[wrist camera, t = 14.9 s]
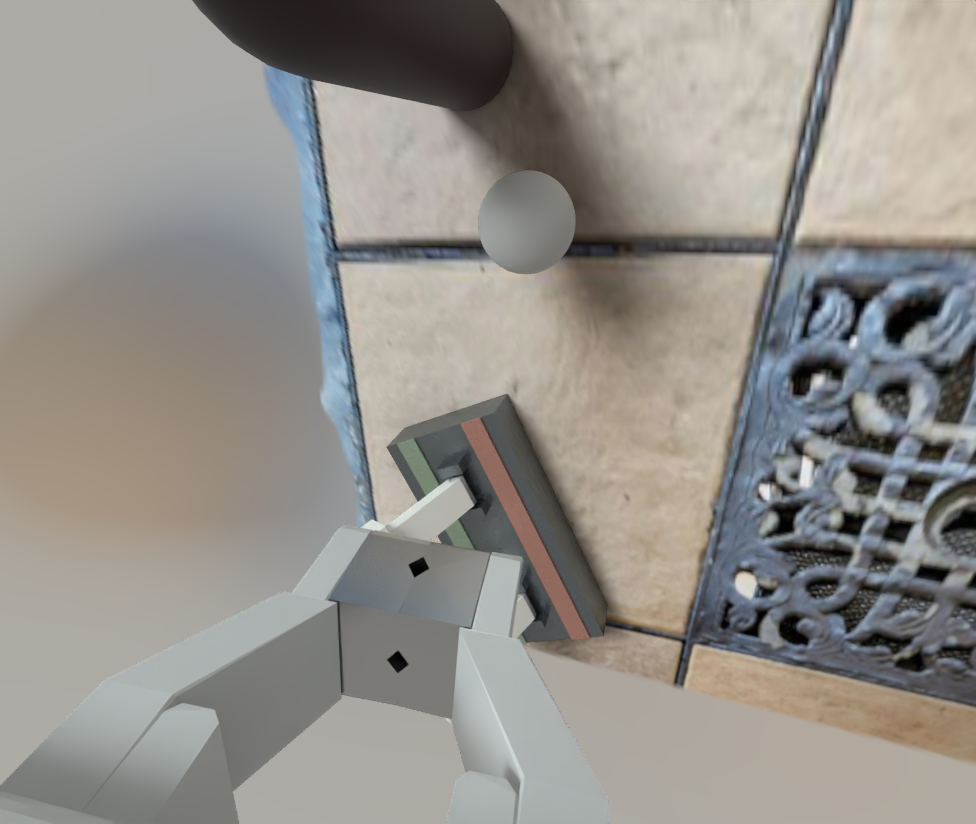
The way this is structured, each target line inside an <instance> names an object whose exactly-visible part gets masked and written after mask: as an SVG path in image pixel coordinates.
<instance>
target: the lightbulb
mask: <svg viewBox="0 0 976 824" xmlns="http://www.w3.org/2000/svg"><path fill="white" fill-rule="evenodd" d="M575 223H576V219H575V210H574V207H573V203H572V200H571V198H570V196H569V194H568V192H567V191H566V190H565V188H564V187H563V186H562V185H561V184H560V183H559V182H558V181H557V180H555V179H554V178H553V177H551V176H549V175H547V174H545V173H542V172H538V171H530V170H524V171H518V172H513V173H511V174H509V175H507V176H504V177H503V178H502V179H500V180H499V181H497V182H496V183H495V184H494V186H493V187H492V188H491V189H490V190H489V191H488V193H487V194H486V196H485V198H484V199H483V202H482V205H481V207H480V211H479V217H478V230H479V236H480V239H481V242H482V245H483V247H484V249H485V251H486V252H487V254H488V255H489V256H490V258H491V259H492V260H493V261H494V262H495V263H496V264H498V265H499V266H500V267H502V268H504V269H506V270H508V271H510V272H514V273H518V274H532V273H538V272H541V271H544V270H546V269H548V268H550V267H551V266H553V265H554V264H555V263H556V262H558V261H559V260H560V259H561V258H562V257H563V255H564V254H565V253H566V251H567V250H568V248H569V246H570V244H571V242H572V239H573V236H574V232H575Z"/></svg>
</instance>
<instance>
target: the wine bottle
mask: <svg viewBox="0 0 976 824" xmlns="http://www.w3.org/2000/svg"><path fill="white" fill-rule="evenodd" d="M193 2H194V3H195V4H196V6H197V7H198V8H199V9H200V11H201V12H202V13H203V14H204V15H205V16H206V17H207V18H208V19H209V20H210V21H211V22H212V23H213V24H214V25H215V26H216V27H217V28H218V29H219V30H220V31H221V32H222V33H223V34H224V35H225V36H226V37H227V38H228V39H230V40H231V41H232V42H233V43H234V44H236V45H237V46H239V47H240V48H242V49H243V50H245V51H246V52H248V53H249V54H251V55H253V56H254V57H256V58H258V59H259V60H261V61H262V62H264V63H266V64H267V65H269V66H272V67H274V68H277V69H280V70H282V71H285V72H288V73H292V74H295V75H298V76H301V77H304V78H307V79H312V80H316V81H321V82H326V83H331V84H335V85H340V86H345V87H350V88H354V89H359V90H364V91H369V92H373V93H378V94H383V95H387V96H392V97H397V98H402V99H406V100H411V101H416V102H421V103H425V104H430V105H435V106H440V107H444V108H449V109H454V110H461V111H465V110H473V109H475V108H478V107H481V106H482V105H484V104H485V103H487V102H489V101H490V100H491V99H492V98H493V97H494V96H495V95H496V94H497V93H498V92H499V90H500V89H501V88H502V86H503V85H504V83H505V80H506V78H507V76H508V74H509V70H510V66H511V62H512V53H513V49H512V36H511V32H510V27H509V24H508V21H507V19H506V16H505V14H504V12H503V11H502V9H501V7H500V6H499V4H498V3H497V2H496V1H495V0H193Z"/></svg>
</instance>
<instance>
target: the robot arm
mask: <svg viewBox="0 0 976 824" xmlns="http://www.w3.org/2000/svg"><path fill="white" fill-rule="evenodd" d="M522 565H523V559H522V557H521V556H515V555H509V554H502V553H496V552H492V553H491V552H486V551H480V550H474V549H469V548H463V547H457V546H452V545H446V544H440V543H435V542H430V541H426V540H421V539H416V538H411V537H406V536H401V535H397V534H392V533H387V532H382V531H377V530H374V531H373V530H370V529H365V528H360V527H355V526H350V525H344V526H342V527H340V528H339V529H338V530H337V531H336V533H335V534H334V535H333V537H332V538H331V539H330V541H329V542H328V544H327V545H326V546H325V548H324V549H323V551H322V552H321V553H320V555H319V556H318V558H317V559H316V560H315V561H314V563H313V564H312V566H311V567H310V568H309V570H308V571H307V572H306V574H305V575H304V577H303V578H302V579H301V581H300V582H299V583H298V585H297V586H296V588H295V589H294V591H293V592H292V593H288V592H280V593H278V594H276V595H274V596H272V597H270V598H268V599H266V600H264V601H262V602H260V603H258V604H256V605H254V606H252V607H250V608H248V609H246V610H244V611H242V612H240V613H238V614H236V615H234V616H232V617H230V618H228V619H226V620H224V621H222V622H220V623H218V624H216V625H214V626H212V627H210V628H208V629H206V630H204V631H202V632H200V633H198V634H196V635H194V636H192V637H190V638H188V639H185V640H183V641H182V642H179V643H177V644H175V645H173V646H172V647H169V648H167V649H165V650H164V651H161V652H159V653H157V654H155V655H153V656H151V657H149V658H147V659H145V660H143V661H141V662H139V663H137V664H135V665H133V666H131V667H129V668H127V669H125V670H123V671H121V672H119V673H117V674H115V675H113V676H111V677H109V678H107V679H105V680H104V681H102V683H101V684H100V685H99V686H98V687H97V688H96V689H95V690H94V691H93V692H92V693H91V694H90V695H89V696H88V697H87V698H86V699H85V700H84V701H83V702H82V703H81V704H80V705H79V706H78V707H77V708H76V709H75V710H74V711H73V712H72V713H71V714H70V715H69V716H68V717H67V718H66V719H65V720H64V721H63V722H62V723H61V724H60V725H59V726H58V727H57V728H56V729H55V730H54V731H53V732H52V733H51V735H49V736H48V738H47V739H46V740H45V741H44V742H43V743H42V744H41V745H40V746H39V747H38V748H37V749H36V750H35V751H34V752H33V753H32V754H31V755H30V756H29V757H28V758H27V759H26V760H25V761H24V762H23V763H22V764H21V765H20V766H19V767H18V768H17V769H16V770H15V771H14V772H13V773H12V774H11V775H10V776H9V777H8V778H7V779H6V780H5V781H4V782H3V784H2V785H0V824H239V820H238V815H237V811H236V805H235V800H234V795H233V791H234V790H235V789H236V788H238V786H240V785H241V784H242V783H243V782H245V781H246V780H247V779H248V778H249V777H250V776H251V775H253V774H254V773H255V772H256V771H257V770H259V769H260V768H261V767H262V766H263V765H264V764H266V763H267V762H268V761H269V760H270V759H271V758H273V757H274V756H275V755H276V754H277V753H278V752H280V751H281V750H282V749H283V748H284V747H285V746H287V744H289V743H290V742H291V741H292V740H294V739H295V738H296V737H297V736H298V735H299V734H301V733H302V732H303V731H304V730H305V729H306V728H308V727H309V726H310V725H311V724H312V723H313V722H315V721H316V720H317V719H318V718H319V717H320V716H322V714H324V713H325V712H326V711H327V710H329V709H330V708H331V707H332V706H333V705H334V704H335V703H337V702H338V701H339V700H340V699H341V695H346V696H351V697H356V698H362V699H367V700H372V701H377V702H382V703H387V704H393V705H398V706H401V707H405V708H409V709H413V710H417V711H421V712H425V713H429V714H433V715H437V716H440V717H444V718H448V719H452V725H453V729H454V732H455V736H456V739H457V743H458V746H459V750H460V754H461V757H462V760H463V764H464V768H465V771H466V773H465V774H464V775H462V776H461V777H460V778H458V779H457V780H456V782H455V787H454V791H453V795H452V799H451V804H450V808H449V812H448V817H447V821H446V824H610V822H609V801H608V798H607V797H606V795H605V793H604V791H603V790H602V788H601V786H600V784H599V782H598V780H597V778H596V776H595V775H594V773H593V771H592V769H591V767H590V766H589V764H588V762H587V760H586V759H585V756H584V755H583V753H582V751H581V749H580V747H579V745H578V744H577V742H576V740H575V738H574V736H573V734H572V733H571V731H570V729H569V727H568V726H567V723H566V722H565V720H564V718H563V716H562V714H561V712H560V711H559V709H558V707H557V705H556V703H555V702H554V700H553V698H552V696H551V694H550V693H549V691H548V689H547V687H546V685H545V683H544V681H543V679H542V678H541V676H540V674H539V672H538V670H537V669H536V667H535V665H534V663H533V661H532V659H531V658H530V656H529V654H528V652H527V650H526V648H525V647H524V645H523V643H522V641H521V640H520V639H515V638H512V634H513V627H514V620H515V613H516V606H517V600H518V593H519V586H520V579H521V572H522Z"/></svg>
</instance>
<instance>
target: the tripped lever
mask: <svg viewBox="0 0 976 824" xmlns="http://www.w3.org/2000/svg"><path fill="white" fill-rule="evenodd" d="M475 504H476V499H475V497H474V495H473V493H472V491H471V490H470V488H469V486H468V484H467V482H466V480H465V478H464V476H463V475H462V474H459V475H456V476H452V477H450V478H449V479H448V480H446V481H445V482H444V483H442V484H441V485H440V486H438V487H437V488H436V489H434V490H433V491H432V492H430V493H429V494H428V495H426V496H425V497H424V498H422V499H421V500H420V501H419V502H417V503H416V504H415V505H413V506H412V507H411V508H409V509H408V510H407V511H405V512H404V513H403V514H401V515H400V516H399V517H397V518H396V519H395V520H394V521H392V522H391V523H390V524H388V525H387V526H386V527H385V526H384V525H382V524H380V523H378V522H376V521H374V520H371V521H369V522H368V523H366V524H365V525H364V526H362V527H361V528H365V529H370V530H373V531H374V530H377V531H382V532H387V533H392V534H397V535H401V536H406V537H411V538H416V539H421V540H426V541H432V540H433V539H434V538H435V537H436V536H438V535H439V534H440V533H441V532H443V531H444V530H445V529H446V528H447V527H449V526H450V525H451V524H452V523H454V522H455V521H456V520H457V519H458V518H460V517H461V516H462V515H463V514H465V513H466V512H467V511H468V510H469V509H471V508H472V507H473V506H474V505H475Z"/></svg>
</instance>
